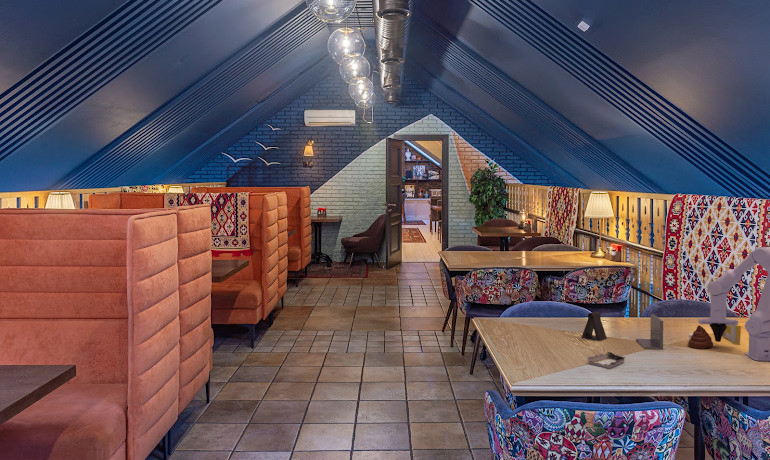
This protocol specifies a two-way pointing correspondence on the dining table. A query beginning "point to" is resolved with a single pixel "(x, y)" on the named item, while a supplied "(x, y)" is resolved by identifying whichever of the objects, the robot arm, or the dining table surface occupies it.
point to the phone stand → (594, 327)
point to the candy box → (733, 333)
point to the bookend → (654, 335)
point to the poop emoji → (700, 339)
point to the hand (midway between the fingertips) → (717, 341)
